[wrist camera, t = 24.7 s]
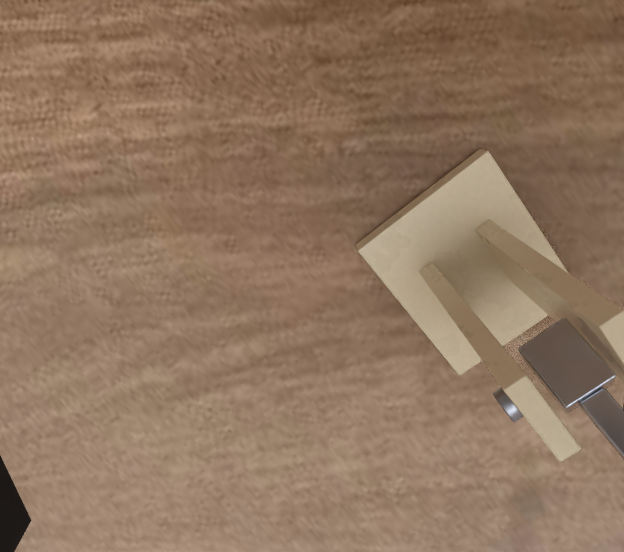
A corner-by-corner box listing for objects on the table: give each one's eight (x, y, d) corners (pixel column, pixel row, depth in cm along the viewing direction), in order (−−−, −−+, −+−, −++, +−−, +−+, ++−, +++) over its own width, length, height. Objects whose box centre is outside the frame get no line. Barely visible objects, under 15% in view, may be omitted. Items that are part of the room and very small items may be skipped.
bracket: (571, 285, 33) (756, 417, 21) (453, 366, 35) (556, 536, 22) (480, 147, 30) (634, 203, 17) (354, 244, 32) (408, 361, 19)
